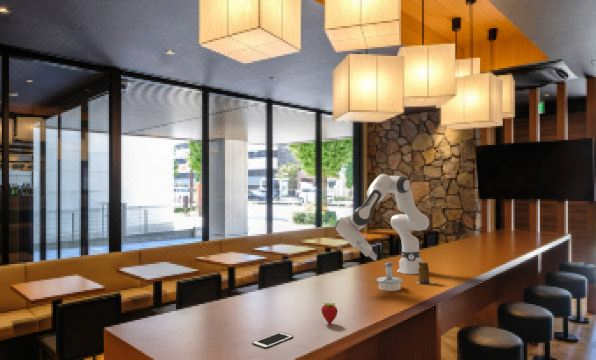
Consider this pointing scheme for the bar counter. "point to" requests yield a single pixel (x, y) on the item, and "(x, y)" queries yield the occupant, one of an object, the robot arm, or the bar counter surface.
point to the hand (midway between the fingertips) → (376, 258)
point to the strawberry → (329, 312)
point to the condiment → (423, 273)
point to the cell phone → (272, 340)
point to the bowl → (389, 286)
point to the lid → (389, 276)
